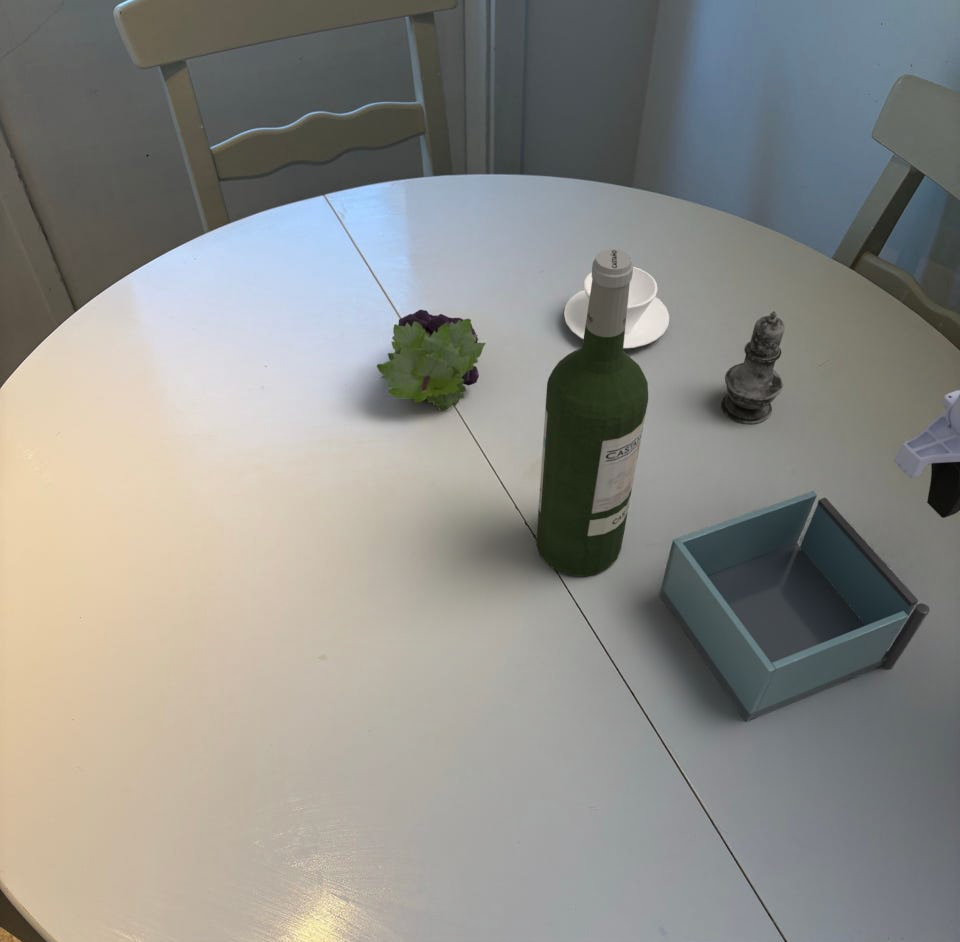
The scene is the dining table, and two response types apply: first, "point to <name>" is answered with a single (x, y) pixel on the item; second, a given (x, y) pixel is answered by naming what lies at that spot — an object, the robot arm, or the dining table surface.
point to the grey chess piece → (755, 374)
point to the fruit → (432, 359)
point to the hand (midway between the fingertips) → (941, 507)
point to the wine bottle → (592, 433)
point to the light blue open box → (772, 611)
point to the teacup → (642, 316)
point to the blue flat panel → (854, 567)
